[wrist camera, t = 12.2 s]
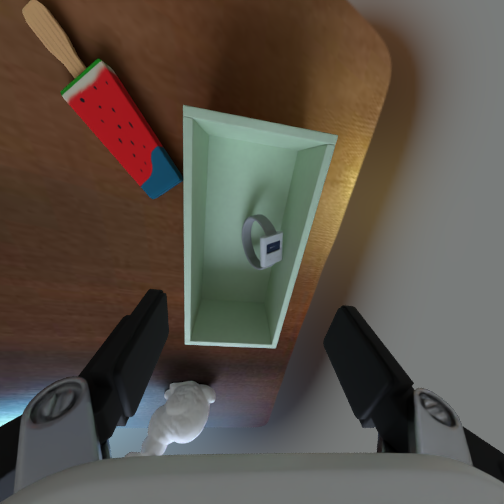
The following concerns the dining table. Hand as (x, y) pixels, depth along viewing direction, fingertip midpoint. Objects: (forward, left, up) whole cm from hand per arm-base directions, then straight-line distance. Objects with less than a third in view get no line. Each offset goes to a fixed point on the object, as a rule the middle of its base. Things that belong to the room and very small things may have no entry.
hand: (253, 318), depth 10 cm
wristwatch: (0, 0, -14) cm, 14 cm away
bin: (0, 0, -14) cm, 14 cm away
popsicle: (+9, -14, -15) cm, 22 cm away
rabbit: (+19, +29, -15) cm, 38 cm away
